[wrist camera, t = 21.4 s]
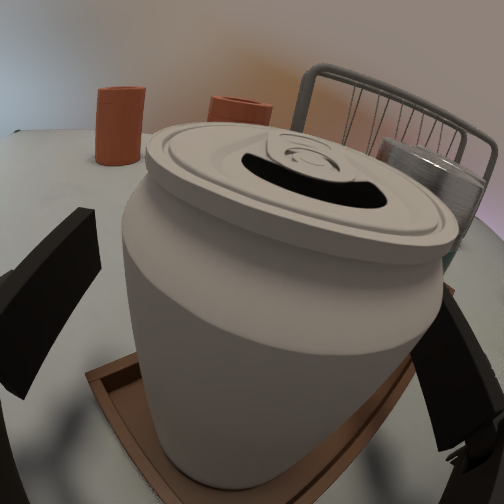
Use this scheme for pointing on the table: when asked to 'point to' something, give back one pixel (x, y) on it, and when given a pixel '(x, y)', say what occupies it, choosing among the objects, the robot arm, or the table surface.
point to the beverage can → (272, 290)
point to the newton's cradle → (392, 94)
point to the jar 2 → (239, 111)
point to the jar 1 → (119, 125)
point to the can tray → (244, 500)
